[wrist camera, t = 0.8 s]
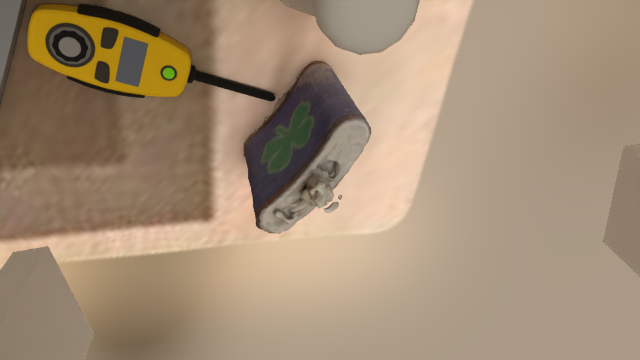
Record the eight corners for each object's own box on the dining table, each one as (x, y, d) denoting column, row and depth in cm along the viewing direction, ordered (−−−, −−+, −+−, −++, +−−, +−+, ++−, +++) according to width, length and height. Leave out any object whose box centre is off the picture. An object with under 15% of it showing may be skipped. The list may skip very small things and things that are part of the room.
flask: (314, 53, 32) (361, 125, 24) (344, 77, 34) (399, 153, 25) (234, 151, 35) (250, 248, 26) (265, 169, 37) (291, 266, 28)
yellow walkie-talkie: (28, -9, 25) (290, 72, 31) (37, -17, 27) (285, 62, 33) (20, 74, 27) (266, 136, 33) (29, 62, 29) (262, 123, 35)
